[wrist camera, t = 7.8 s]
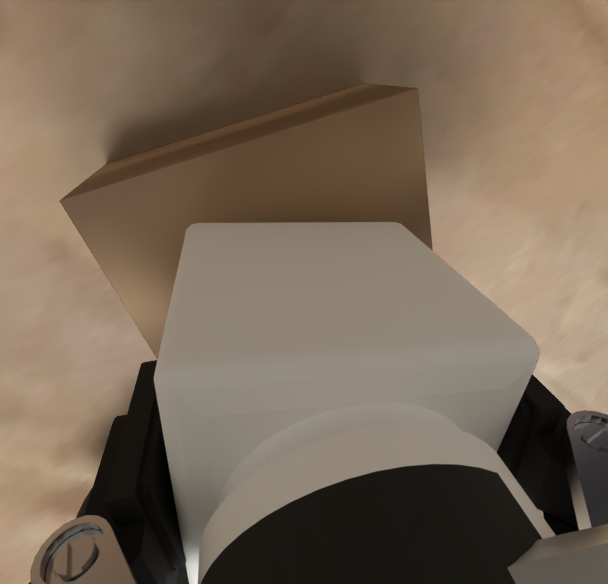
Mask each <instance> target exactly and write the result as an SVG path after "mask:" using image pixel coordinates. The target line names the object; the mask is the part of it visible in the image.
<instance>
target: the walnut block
mask: <svg viewBox="0 0 608 584" xmlns="http://www.w3.org/2000/svg"><path fill="white" fill-rule="evenodd" d="M60 203H61V204H62V206H63V207H64V209H65V211H66V212H67V214H68V215H69V217H70V219H71V220H72V222H73V224H74V225H75V227H76V228H77V230H78V232H79V233H80V235H81V236H82V238H83V240H84V241H85V243H86V245H87V246H88V248H89V249H90V251H91V253H92V254H93V256H94V257H95V259H96V261H97V262H98V264H99V266H100V267H101V269H102V270H103V272H104V274H105V275H106V277H107V279H108V280H109V282H110V283H111V285H112V287H113V288H114V290H115V291H116V293H117V295H118V296H119V298H120V300H121V301H122V303H123V304H124V306H125V308H126V309H127V311H128V312H129V314H130V316H131V317H132V319H133V321H134V322H135V324H136V325H137V327H138V329H139V330H140V332H141V333H142V335H143V337H144V338H145V340H146V342H147V343H148V345H149V346H150V348H151V350H152V351H153V353H154V354H155V356H156V358H157V359H158V355H159V351H160V346H161V342H162V337H163V333H164V328H165V324H166V319H167V315H168V310H169V306H170V301H171V297H172V292H173V288H174V283H175V279H176V274H177V270H178V265H179V261H180V256H181V252H182V247H183V243H184V238H185V234H186V229H187V228H188V227H189V226H190V225H192V224H195V223H280V222H397V223H400V224H402V225H403V226H404V227H405V228H407V229H408V230H409V231H410V232H411V233H412V234H413V235H415V236H416V237H417V238H418V239H419V240H420V241H422V242H423V243H424V244H425V245H426V246H427V247H429V248H430V249H431V250H432V239H431V228H430V217H429V206H428V195H427V184H426V173H425V162H424V151H423V141H422V130H421V119H420V108H419V97H418V88H408V87H397V86H385V85H374V84H360V85H357V86H354V87H351V88H347V89H344V90H341V91H338V92H335V93H331V94H328V95H325V96H322V97H319V98H315V99H312V100H309V101H306V102H303V103H299V104H296V105H293V106H290V107H287V108H283V109H280V110H277V111H274V112H271V113H267V114H264V115H261V116H258V117H255V118H251V119H248V120H245V121H242V122H239V123H235V124H232V125H229V126H226V127H223V128H219V129H216V130H213V131H210V132H207V133H203V134H200V135H197V136H194V137H191V138H187V139H184V140H181V141H178V142H175V143H171V144H168V145H165V146H162V147H159V148H155V149H152V150H149V151H146V152H143V153H139V154H136V155H133V156H130V157H127V158H123V159H120V160H117V161H114V162H111V163H107V164H105V165H104V166H103V167H102V168H100V169H99V170H98V171H97V172H95V173H94V174H93V175H92V176H90V177H89V178H88V179H86V180H85V181H84V182H83V183H81V184H80V185H79V186H78V187H76V188H75V189H74V190H72V191H71V192H70V193H69V194H67V195H66V196H65V197H64V198H62V199H61V200H60ZM432 251H433V250H432Z"/></svg>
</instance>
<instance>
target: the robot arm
mask: <svg viewBox="0 0 608 584" xmlns="http://www.w3.org/2000/svg"><path fill="white" fill-rule="evenodd" d="M156 364H157V360H155V361H149V362H143V363H142V364H141V367H140V370H139V374H138V378H137V381H136V385H135V389H134V392H133V396H132V399H131V403H130V407H129V410H128V414H127V415H122V416H117V417H116V418H115V420H114V422H113V424H112V427H111V431H110V434H109V437H108V440H107V443H106V447H105V450H104V453H103V456H102V460H101V463H100V466H99V469H98V472H97V476H96V479H95V482H94V485H93V489H92V492H91V495H90V498H89V501H88V505H87V508H86V511H85V514H84V516H83V517H79V518H75V519H74V520H72V521H70V522H68V523H66V524H64V525H63V526H61V527H60V528H59V529H58V530H56V531H55V532H54V533H53V534H52V535H51V536H50V537H49V538H48V539H47V540H46V541H45V542H44V544H43V545H42V546H41V548H40V550H39V551H38V553H37V555H36V556H35V558H34V561H33V564H32V567H31V582H30V583H29V584H177V576H178V568H179V567H183V566H185V564H186V558H185V555H184V551H183V545H182V540H181V534H180V528H179V523H178V517H177V511H176V505H175V500H174V494H173V488H172V482H171V477H170V471H169V465H168V459H167V454H166V448H165V442H164V436H163V431H162V425H161V419H160V413H159V407H158V402H157V396H156V390H155V384H154V374H155V369H156ZM497 454H498V455H499V457H500V458H501V460H502V461H503V462H504V464H505V465H506V467H507V468H508V469H509V471H510V472H511V473H512V475H513V476H514V478H515V479H516V480H517V482H518V483H519V485H520V486H521V487H522V489H523V490H524V492H525V493H526V494H527V496H528V497H529V499H530V500H531V501H532V503H533V504H534V506H535V507H536V508H537V510H538V511H539V513H540V514H541V515H542V517H543V518H544V520H545V521H546V522H547V524H548V525H549V526H550V528H551V529H552V531H553V532H554V533H555V535H556V536H553V537H549V538H545V539H541V540H537V541H536V542H535V543H534V545H533V546H532V548H530V549H529V550H528V551H527V552H526V553H525V554H523V555H522V556H521V557H520V558H519V559H518V560H517V561H516V562H515V563H513V564H512V565H510V566H509V567H507V568H508V570H509V572H510V574H511V576H512V578H513V579H514V581H515V583H516V584H608V415H607V414H603V413H600V412H596V411H586V410H584V411H578V412H575V413H573V414H571V413H570V412H569V411H568V410H567V409H566V408H565V407H564V405H563V404H562V403H561V402H560V401H559V400H558V399H557V398H556V397H555V396H554V395H553V394H552V393H551V392H550V391H549V390H548V389H547V388H546V387H545V386H544V385H543V384H542V383H541V382H540V381H539V380H538V379H537V378H535V377H534V376H533V375H531V378H530V380H529V382H528V384H527V386H526V389H525V391H524V393H523V395H522V397H521V400H520V402H519V404H518V406H517V408H516V411H515V413H514V415H513V417H512V420H511V422H510V424H509V426H508V428H507V431H506V433H505V435H504V437H503V439H502V442H501V444H500V446H499V448H498V450H497Z"/></svg>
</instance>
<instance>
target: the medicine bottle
mask: <svg viewBox="0 0 608 584" xmlns="http://www.w3.org/2000/svg"><path fill="white" fill-rule="evenodd" d="M539 355H540V348H539V346H538V345H537V343H536V341H535V340H534V339H533V337H532V336H531V335H530V334H528V333H527V332H526V331H525V330H524V329H523V328H521V327H520V326H519V325H518V324H517V323H516V322H515V321H513V320H512V319H511V318H510V317H509V316H508V315H506V314H505V313H504V312H503V311H502V310H501V309H499V308H498V307H497V306H496V305H495V304H494V303H492V302H491V301H490V300H489V299H488V298H487V297H485V296H484V295H483V294H482V293H481V292H480V291H479V290H477V289H476V288H475V287H474V286H473V285H472V284H470V283H469V282H468V281H467V280H466V279H465V278H463V277H462V276H461V275H460V274H459V273H458V272H456V271H455V270H454V269H453V268H452V267H451V266H449V265H448V264H447V263H446V262H445V261H444V260H443V259H441V258H440V257H439V256H438V255H437V254H436V253H434V252H433V251H432V250H431V249H430V248H429V247H427V246H426V245H425V244H424V243H423V242H422V241H420V240H419V239H418V238H417V237H416V236H415V235H413V234H412V233H411V232H410V231H409V230H408V229H407V228H405V227H404V226H403V225H402V224H400V223H397V222H280V223H195V224H192V225H190V226H189V227H188V228H187V229H186V234H185V238H184V243H183V247H182V252H181V256H180V261H179V265H178V270H177V274H176V279H175V283H174V288H173V292H172V297H171V301H170V306H169V310H168V315H167V319H166V324H165V328H164V333H163V337H162V342H161V346H160V351H159V355H158V360H157V364H156V369H155V374H154V384H155V390H156V396H157V402H158V407H159V413H160V419H161V425H162V431H163V436H164V442H165V448H166V454H167V459H168V465H169V471H170V477H171V482H172V488H173V494H174V500H175V505H176V511H177V517H178V523H179V528H180V534H181V540H182V545H183V551H184V555H185V558H186V569H187V575H188V580H189V584H516V583H515V581H514V579H513V578H512V576H511V574H510V572H509V570H508V568H507V567H509V566H510V565H512V564H513V563H515V562H516V561H517V560H518V559H519V558H520V557H521V556H522V555H523V554H525V553H526V552H527V551H528V550H529V549H530V548H532V546H533V545H534V543H535V542H536V541H537V540H541V539H545V538H549V537H553V536H556V535H555V533H554V532H553V531H552V529H551V528H550V526H549V525H548V524H547V522H546V521H545V520H544V518H543V517H542V515H541V514H540V513H539V511H538V510H537V508H536V507H535V506H534V504H533V503H532V501H531V500H530V499H529V497H528V496H527V494H526V493H525V492H524V490H523V489H522V487H521V486H520V485H519V483H518V482H517V480H516V479H515V478H514V476H513V475H512V473H511V472H510V471H509V469H508V468H507V467H506V465H505V464H504V462H503V461H502V460H501V458H500V457H499V455H498V454H497V450H498V448H499V446H500V444H501V442H502V439H503V437H504V435H505V433H506V431H507V428H508V426H509V424H510V422H511V420H512V417H513V415H514V413H515V411H516V408H517V406H518V404H519V402H520V400H521V397H522V395H523V393H524V391H525V389H526V386H527V384H528V382H529V380H530V378H531V375H532V373H533V371H534V369H535V367H536V364H537V362H538V359H539Z"/></svg>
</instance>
